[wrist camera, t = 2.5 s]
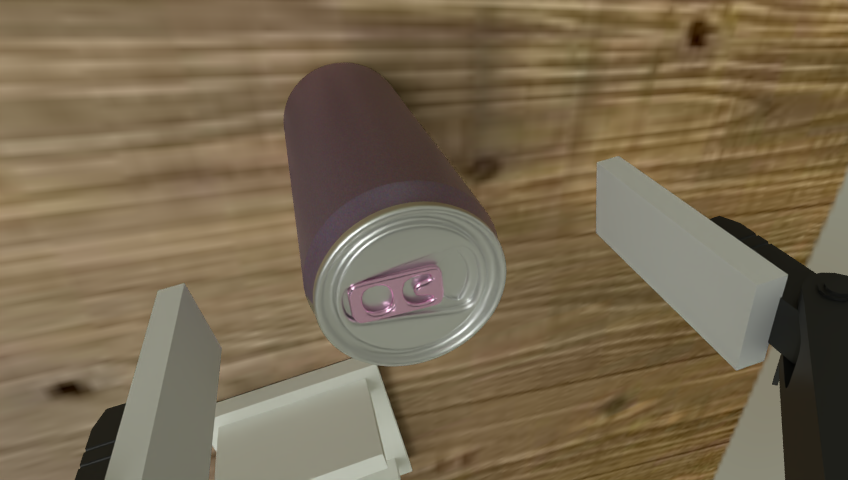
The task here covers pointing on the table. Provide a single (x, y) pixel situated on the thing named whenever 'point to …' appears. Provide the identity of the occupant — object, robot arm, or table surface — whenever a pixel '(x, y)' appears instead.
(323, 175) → the beverage can
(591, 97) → the table surface
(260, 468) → the holder
